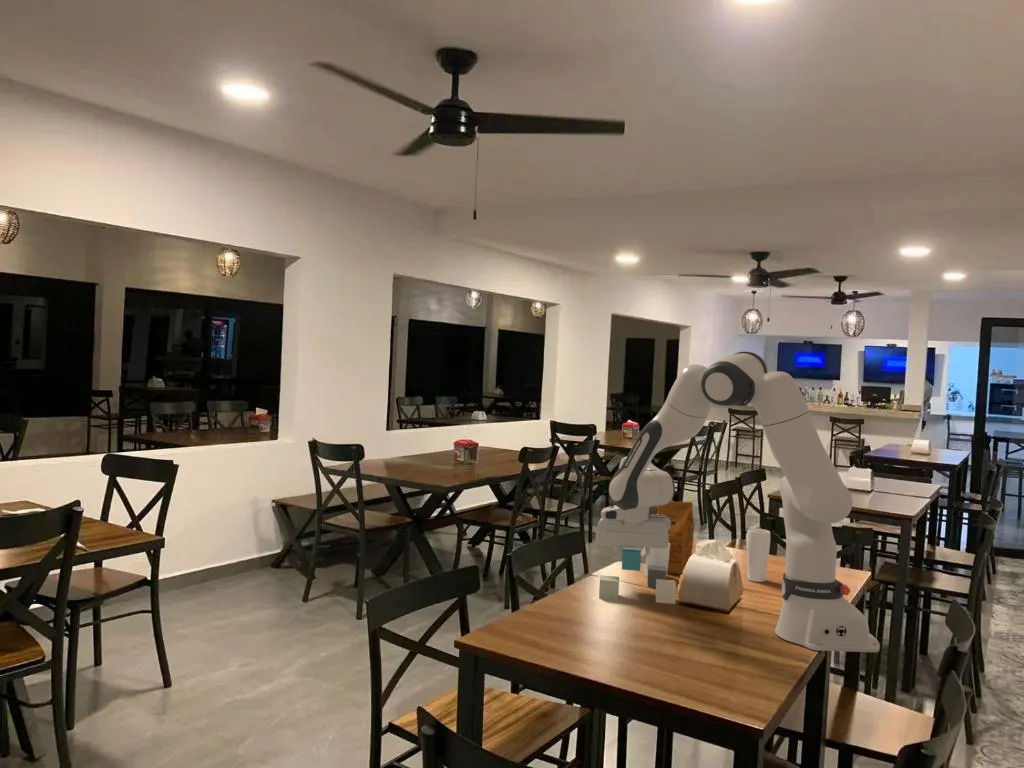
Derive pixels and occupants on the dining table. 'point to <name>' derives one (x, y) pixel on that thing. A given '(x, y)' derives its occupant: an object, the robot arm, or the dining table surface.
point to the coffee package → (679, 534)
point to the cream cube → (665, 591)
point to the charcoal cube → (655, 574)
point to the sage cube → (609, 587)
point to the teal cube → (631, 559)
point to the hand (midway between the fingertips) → (631, 562)
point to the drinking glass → (757, 554)
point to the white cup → (657, 558)
